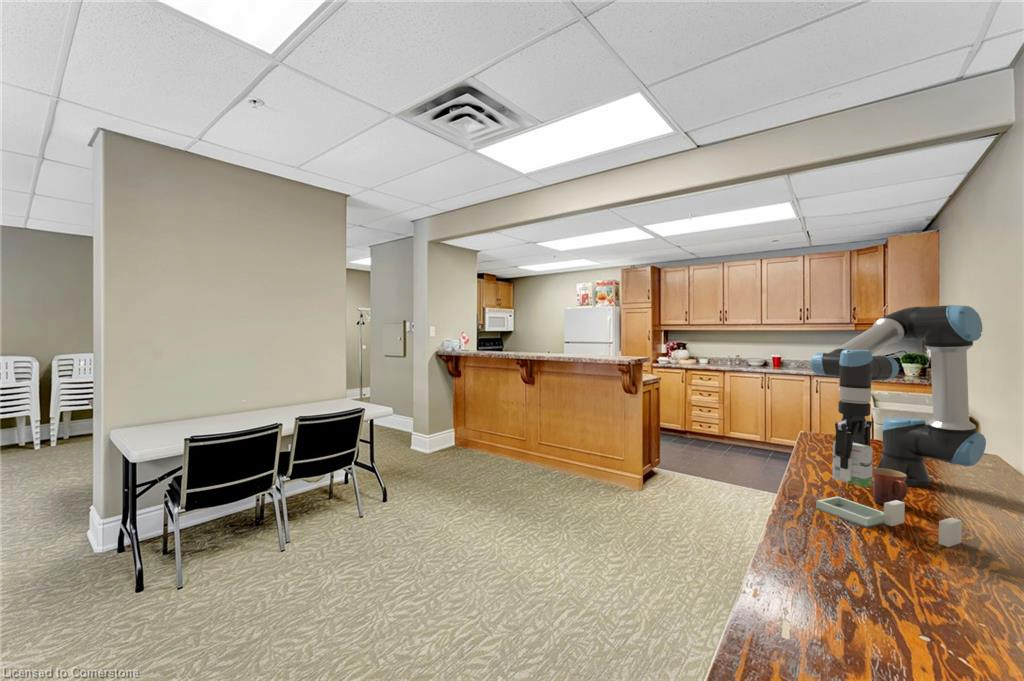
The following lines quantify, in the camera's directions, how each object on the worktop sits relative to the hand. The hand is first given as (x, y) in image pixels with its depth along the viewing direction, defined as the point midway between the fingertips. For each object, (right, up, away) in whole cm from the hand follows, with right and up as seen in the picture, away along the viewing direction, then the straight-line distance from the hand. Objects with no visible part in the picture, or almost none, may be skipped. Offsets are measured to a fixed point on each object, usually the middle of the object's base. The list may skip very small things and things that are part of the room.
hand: (851, 477), depth 130 cm
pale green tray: (0, -11, 0) cm, 11 cm away
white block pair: (+11, -12, -10) cm, 19 cm away
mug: (+19, -12, +8) cm, 23 cm away
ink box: (0, -1, 0) cm, 1 cm away
